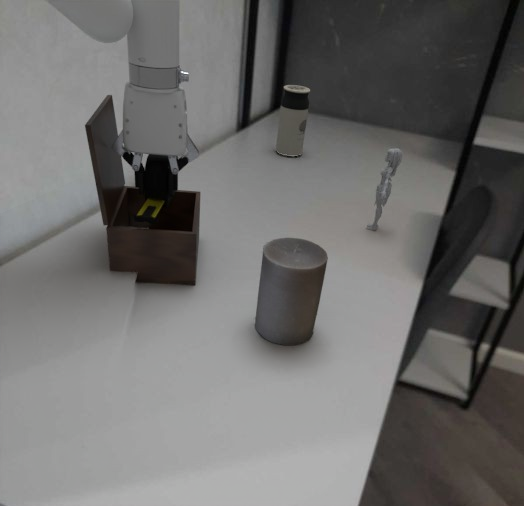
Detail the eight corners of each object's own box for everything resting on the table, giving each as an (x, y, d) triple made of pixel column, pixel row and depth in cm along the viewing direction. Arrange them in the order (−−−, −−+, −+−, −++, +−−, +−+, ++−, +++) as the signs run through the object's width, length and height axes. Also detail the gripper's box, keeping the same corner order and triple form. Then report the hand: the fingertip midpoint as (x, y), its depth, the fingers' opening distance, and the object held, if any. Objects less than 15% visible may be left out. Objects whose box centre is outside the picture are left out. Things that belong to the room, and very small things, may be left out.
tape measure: (154, 190, 98) (153, 147, 93) (177, 193, 98) (177, 149, 93) (133, 222, 86) (130, 174, 81) (159, 225, 86) (158, 177, 81)
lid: (112, 94, 89) (107, 94, 89) (90, 125, 74) (84, 125, 74) (125, 183, 99) (121, 183, 99) (108, 225, 84) (103, 225, 84)
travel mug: (270, 151, 157) (277, 85, 146) (288, 147, 161) (296, 83, 150) (288, 159, 152) (297, 92, 141) (307, 155, 157) (317, 90, 146)
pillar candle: (317, 318, 88) (333, 236, 78) (308, 352, 80) (325, 265, 71) (261, 306, 89) (271, 224, 80) (247, 338, 81) (256, 251, 72)
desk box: (199, 238, 106) (200, 191, 100) (195, 285, 92) (196, 234, 86) (126, 233, 105) (123, 185, 99) (110, 280, 90) (106, 228, 84)
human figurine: (370, 217, 124) (389, 139, 113) (386, 220, 123) (406, 143, 112) (362, 237, 115) (382, 154, 104) (379, 241, 114) (401, 158, 103)
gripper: (210, 77, 83) (206, 188, 94) (102, 66, 81) (110, 181, 93) (209, 87, 77) (204, 205, 89) (92, 76, 76) (103, 197, 87)
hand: (156, 191), depth 90 cm, fingers closed on tape measure, 4 cm apart
